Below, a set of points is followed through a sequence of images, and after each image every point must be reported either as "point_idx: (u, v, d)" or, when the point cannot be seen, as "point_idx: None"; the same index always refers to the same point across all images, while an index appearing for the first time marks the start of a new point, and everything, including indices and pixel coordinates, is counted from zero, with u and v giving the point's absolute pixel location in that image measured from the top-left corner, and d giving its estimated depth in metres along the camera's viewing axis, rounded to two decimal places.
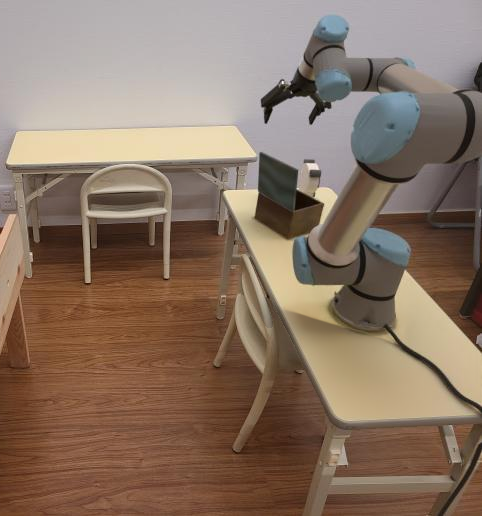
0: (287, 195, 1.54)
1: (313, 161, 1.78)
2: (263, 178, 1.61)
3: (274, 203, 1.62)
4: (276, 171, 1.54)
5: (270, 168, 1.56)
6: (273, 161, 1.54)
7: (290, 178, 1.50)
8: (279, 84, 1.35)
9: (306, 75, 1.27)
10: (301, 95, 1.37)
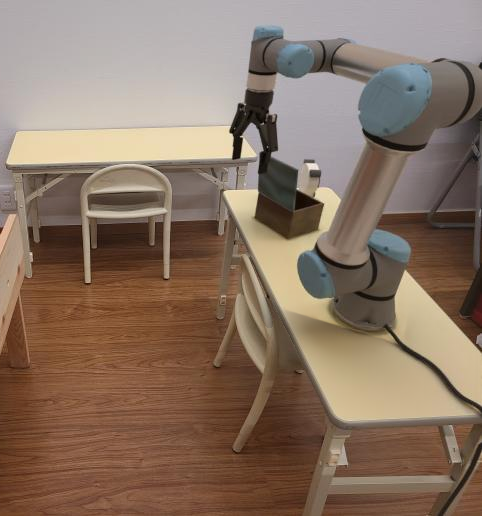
0: (287, 195, 1.54)
1: (313, 161, 1.78)
2: (263, 178, 1.61)
3: (274, 203, 1.62)
4: (276, 171, 1.54)
5: (270, 168, 1.56)
6: (273, 161, 1.54)
7: (290, 178, 1.50)
8: None
9: (246, 82, 1.32)
10: (252, 121, 1.37)
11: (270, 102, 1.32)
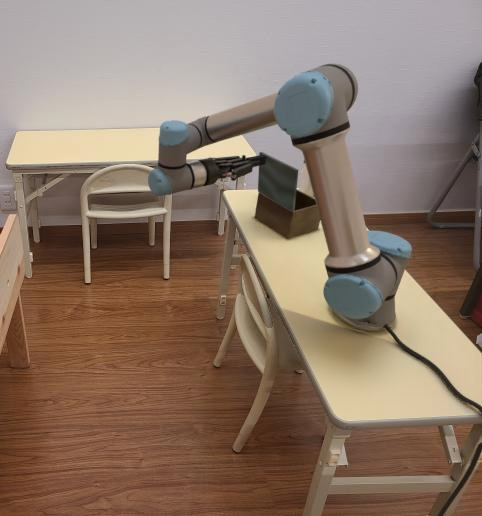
0: (287, 195, 1.54)
1: None
2: (263, 178, 1.61)
3: (274, 203, 1.62)
4: (276, 171, 1.54)
5: (270, 168, 1.56)
6: (273, 161, 1.54)
7: (290, 178, 1.50)
8: (236, 176, 1.39)
9: (201, 167, 1.35)
10: None
11: None
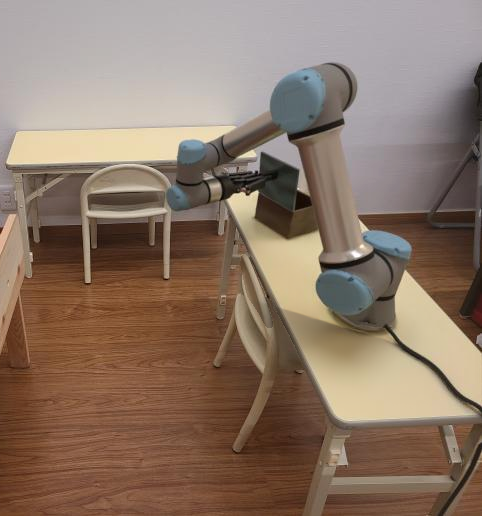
0: (287, 195, 1.54)
1: None
2: None
3: (274, 203, 1.62)
4: None
5: (271, 168, 1.56)
6: (274, 161, 1.54)
7: (291, 178, 1.50)
8: (250, 191, 1.44)
9: (217, 183, 1.41)
10: None
11: None
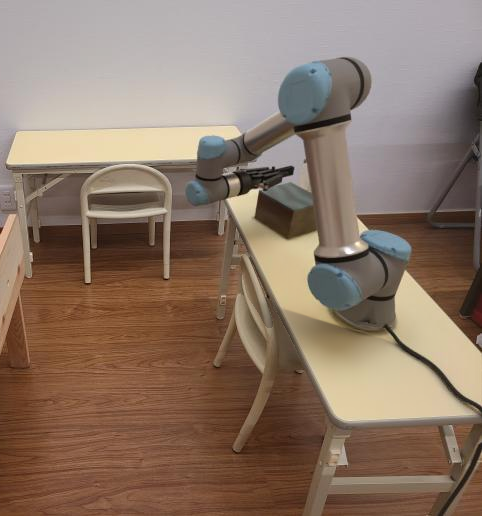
0: (298, 203, 1.59)
1: None
2: (277, 189, 1.67)
3: (274, 203, 1.62)
4: (300, 193, 1.65)
5: (294, 190, 1.67)
6: (302, 189, 1.68)
7: None
8: (267, 187, 1.47)
9: (235, 178, 1.44)
10: None
11: None
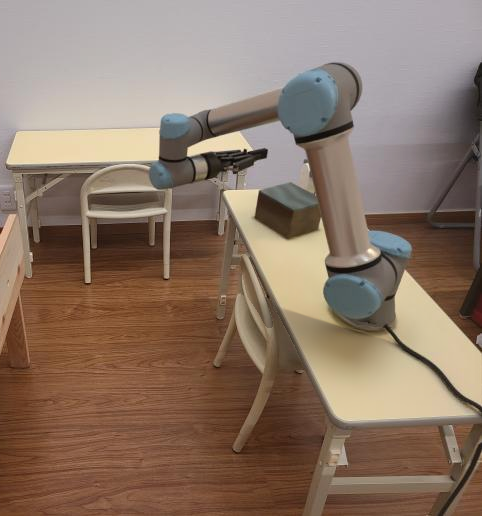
0: (298, 203, 1.59)
1: None
2: (277, 189, 1.67)
3: (274, 203, 1.62)
4: (300, 193, 1.65)
5: (294, 190, 1.67)
6: (302, 189, 1.68)
7: (313, 200, 1.61)
8: (237, 169, 1.38)
9: (202, 160, 1.35)
10: None
11: None
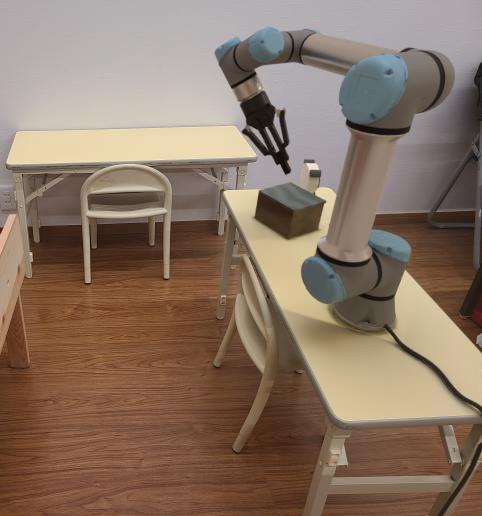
0: (298, 203, 1.59)
1: (313, 161, 1.78)
2: (277, 189, 1.67)
3: (274, 203, 1.62)
4: (300, 193, 1.65)
5: (294, 190, 1.67)
6: (302, 189, 1.68)
7: (313, 200, 1.61)
8: None
9: (239, 97, 1.32)
10: (264, 125, 1.35)
11: (268, 98, 1.33)
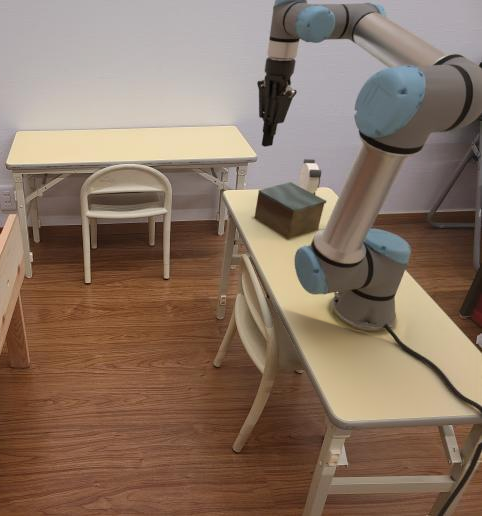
0: (298, 203, 1.59)
1: (313, 161, 1.78)
2: (277, 189, 1.67)
3: (274, 203, 1.62)
4: (300, 193, 1.65)
5: (294, 190, 1.67)
6: (302, 189, 1.68)
7: (313, 200, 1.61)
8: None
9: (267, 51, 1.28)
10: (272, 92, 1.33)
11: (292, 71, 1.28)
